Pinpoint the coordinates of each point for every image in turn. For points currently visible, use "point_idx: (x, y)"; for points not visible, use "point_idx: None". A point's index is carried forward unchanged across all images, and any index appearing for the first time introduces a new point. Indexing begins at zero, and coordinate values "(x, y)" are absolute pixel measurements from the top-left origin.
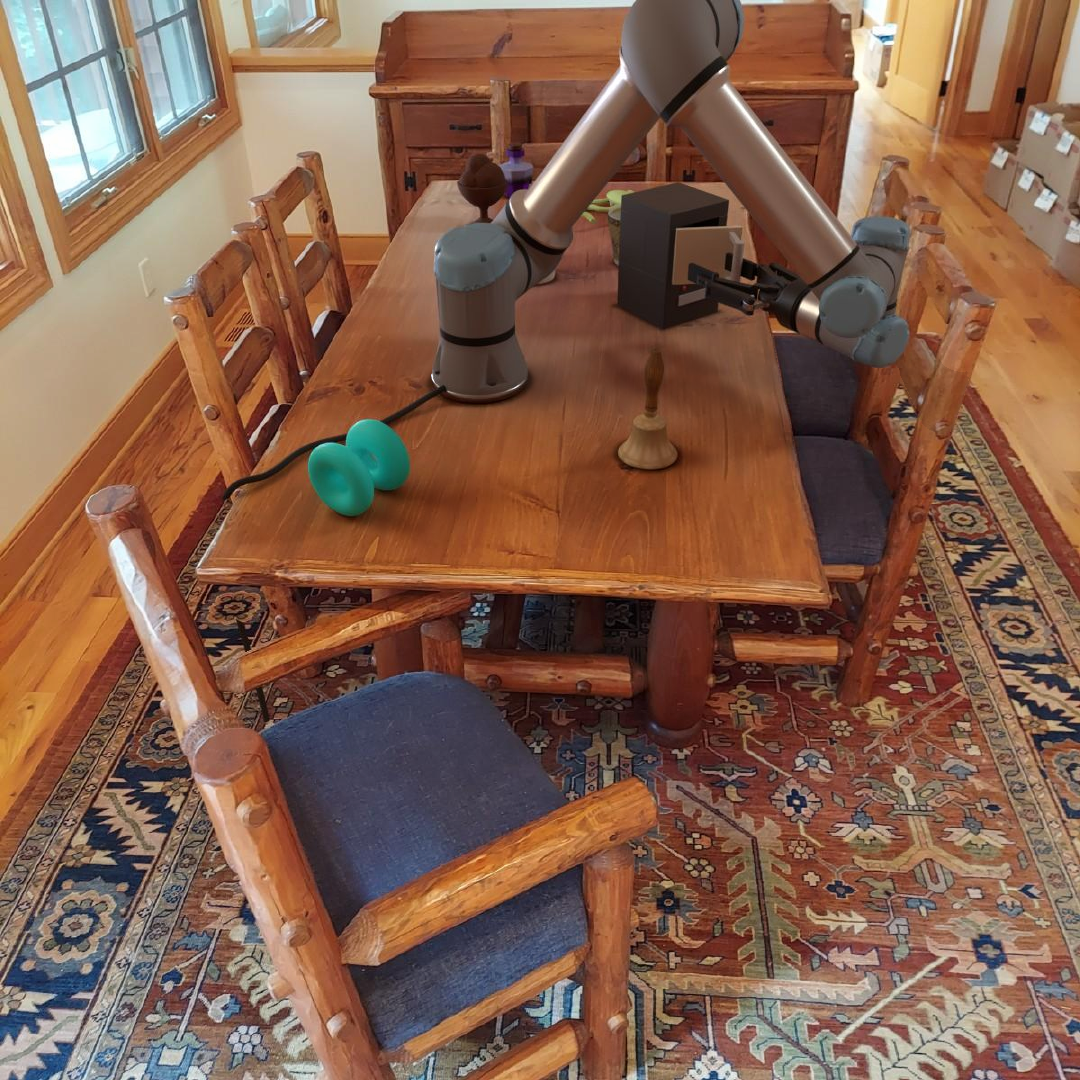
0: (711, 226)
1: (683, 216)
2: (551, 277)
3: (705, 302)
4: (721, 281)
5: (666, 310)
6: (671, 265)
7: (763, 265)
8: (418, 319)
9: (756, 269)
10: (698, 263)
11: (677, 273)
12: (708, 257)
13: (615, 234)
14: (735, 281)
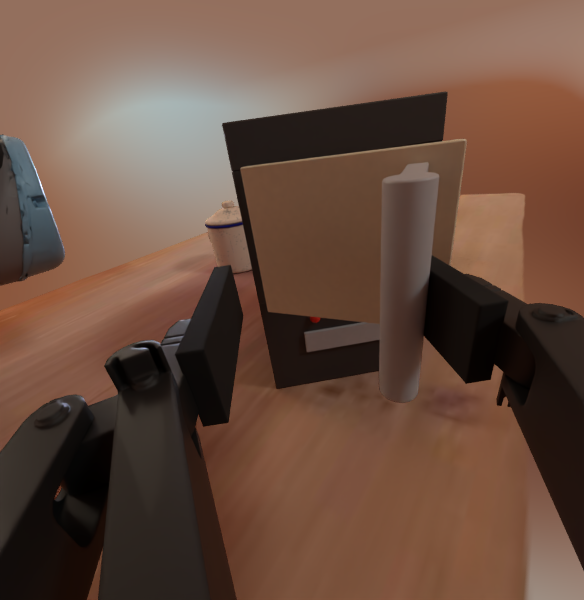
0: None
1: (274, 133)
2: (248, 267)
3: None
4: (114, 433)
5: (276, 357)
6: None
7: (562, 321)
8: (78, 300)
9: (503, 333)
10: (318, 267)
11: (271, 287)
12: (344, 252)
13: None
14: (183, 489)
